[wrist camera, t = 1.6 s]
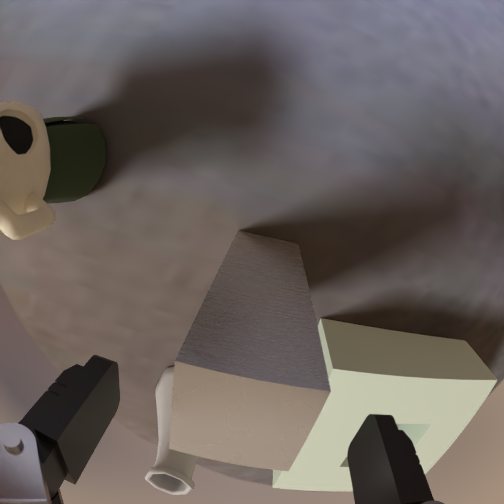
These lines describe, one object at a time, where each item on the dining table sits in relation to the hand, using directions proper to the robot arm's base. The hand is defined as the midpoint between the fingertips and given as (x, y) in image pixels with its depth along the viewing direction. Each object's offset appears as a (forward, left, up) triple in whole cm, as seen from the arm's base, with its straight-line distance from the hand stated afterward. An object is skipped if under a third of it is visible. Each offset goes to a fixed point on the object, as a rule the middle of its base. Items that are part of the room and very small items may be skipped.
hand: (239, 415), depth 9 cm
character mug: (-5, -15, -14) cm, 21 cm away
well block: (+10, +12, -13) cm, 20 cm away
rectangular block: (0, 0, -13) cm, 13 cm away
